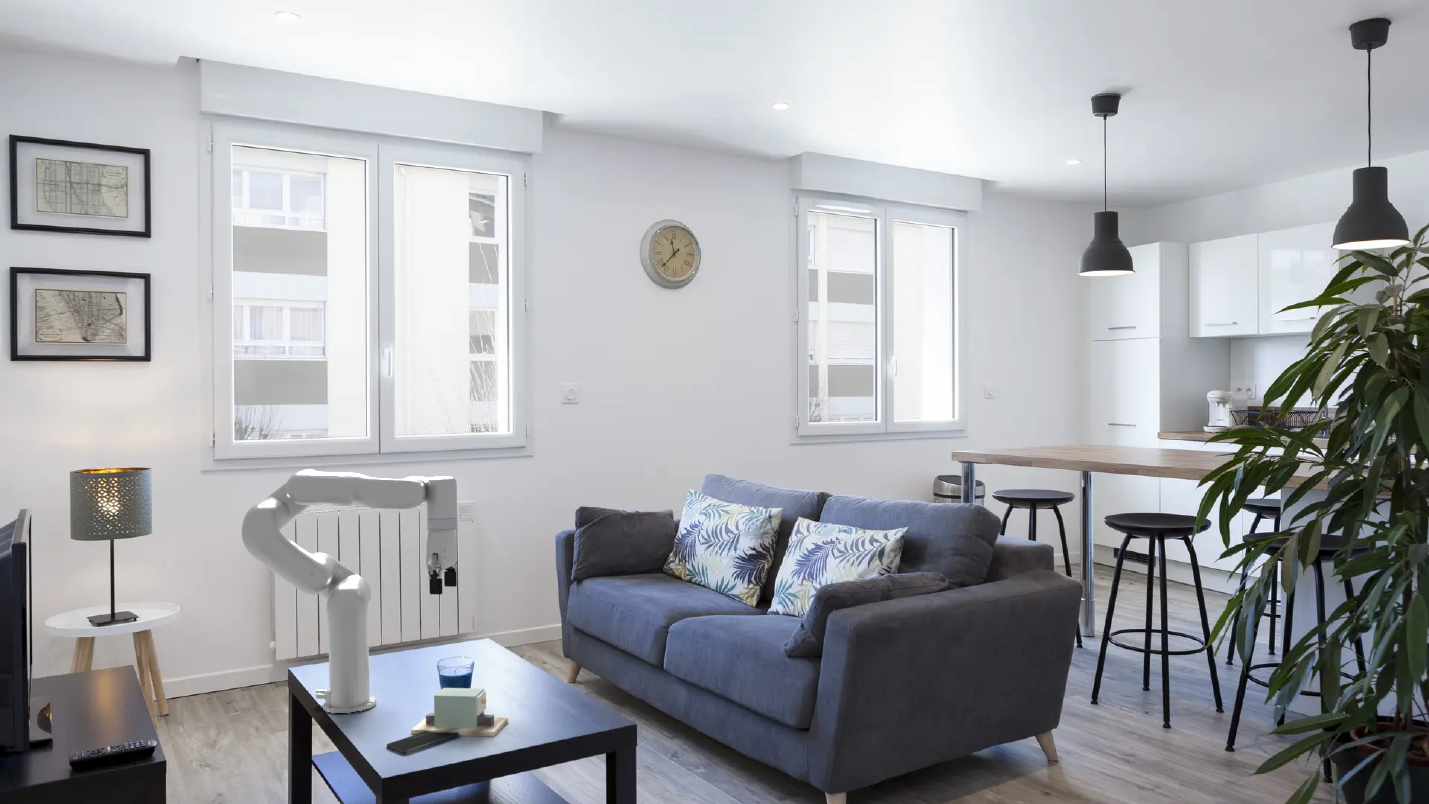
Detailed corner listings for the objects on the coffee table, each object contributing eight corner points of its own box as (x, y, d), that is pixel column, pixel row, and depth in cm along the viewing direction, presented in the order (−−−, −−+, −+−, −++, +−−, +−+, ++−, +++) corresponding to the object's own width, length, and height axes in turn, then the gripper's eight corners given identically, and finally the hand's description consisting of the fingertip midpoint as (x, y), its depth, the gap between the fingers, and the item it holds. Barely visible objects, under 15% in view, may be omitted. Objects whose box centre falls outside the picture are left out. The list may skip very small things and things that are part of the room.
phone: (461, 733, 231) (404, 752, 219) (461, 738, 231) (404, 757, 219) (441, 726, 236) (384, 744, 224) (441, 731, 236) (384, 749, 224)
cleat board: (410, 734, 233) (410, 721, 233) (428, 719, 243) (427, 707, 243) (493, 736, 231) (493, 723, 231) (507, 721, 241) (507, 709, 241)
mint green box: (434, 727, 234) (434, 695, 234) (444, 718, 240) (443, 687, 240) (481, 728, 233) (481, 696, 233) (490, 720, 239) (489, 688, 239)
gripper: (441, 519, 267) (442, 583, 268) (414, 529, 250) (415, 597, 250) (468, 519, 266) (469, 583, 267) (443, 529, 249) (444, 597, 249)
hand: (443, 590), depth 259 cm, fingers open, 9 cm apart
